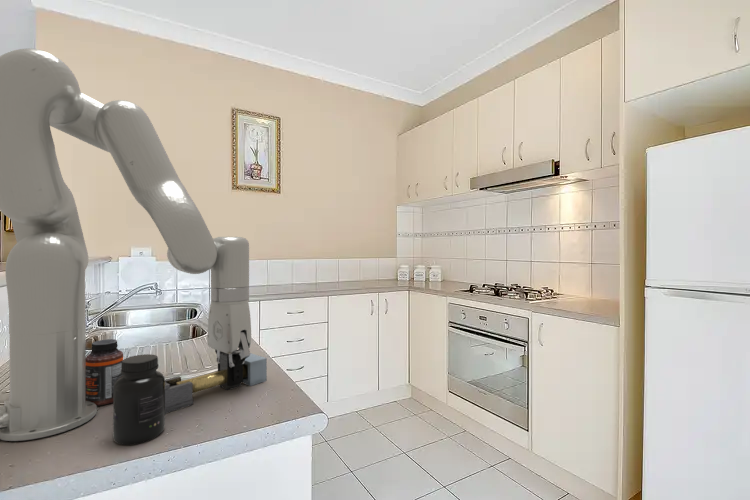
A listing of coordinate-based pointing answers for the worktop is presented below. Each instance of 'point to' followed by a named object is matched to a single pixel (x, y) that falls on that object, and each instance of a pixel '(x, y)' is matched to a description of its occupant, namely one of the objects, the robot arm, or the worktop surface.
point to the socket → (255, 369)
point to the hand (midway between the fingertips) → (230, 381)
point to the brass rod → (215, 377)
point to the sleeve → (177, 394)
